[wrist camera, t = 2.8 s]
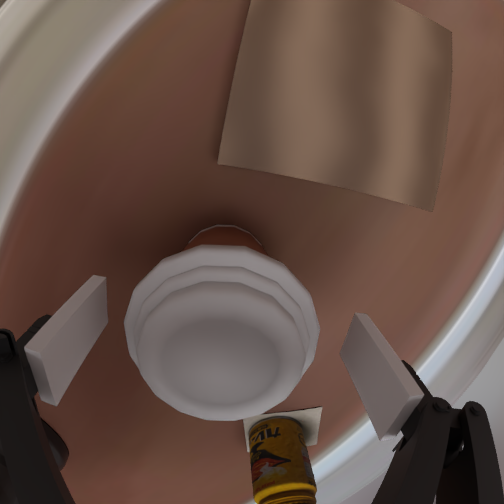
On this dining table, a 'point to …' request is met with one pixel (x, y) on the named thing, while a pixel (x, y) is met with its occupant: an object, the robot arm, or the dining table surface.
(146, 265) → the dining table surface
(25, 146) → the dining table surface
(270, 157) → the base slab
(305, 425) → the condiment
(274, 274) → the coffee cup
